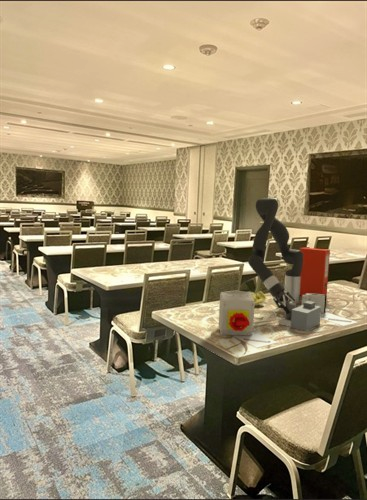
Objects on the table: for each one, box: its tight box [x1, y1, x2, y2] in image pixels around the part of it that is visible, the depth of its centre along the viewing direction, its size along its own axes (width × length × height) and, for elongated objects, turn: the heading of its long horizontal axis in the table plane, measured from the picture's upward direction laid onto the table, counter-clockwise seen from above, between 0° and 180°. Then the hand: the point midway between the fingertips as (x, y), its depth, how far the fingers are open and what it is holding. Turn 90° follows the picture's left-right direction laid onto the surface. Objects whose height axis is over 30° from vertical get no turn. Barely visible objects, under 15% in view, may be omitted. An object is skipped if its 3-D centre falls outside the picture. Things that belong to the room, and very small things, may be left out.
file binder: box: [299, 247, 331, 297], centre depth 243 cm, size 8×17×32 cm, turn 48°
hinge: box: [301, 293, 328, 314], centre depth 208 cm, size 14×5×10 cm, turn 87°
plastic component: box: [251, 290, 267, 307], centre depth 220 cm, size 20×7×10 cm
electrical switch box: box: [218, 289, 255, 336], centre depth 168 cm, size 15×15×20 cm
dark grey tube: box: [284, 302, 297, 320], centre depth 187 cm, size 5×5×11 cm
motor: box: [278, 301, 322, 332], centre depth 187 cm, size 20×15×11 cm
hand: (293, 311), depth 186 cm, fingers open, 8 cm apart
